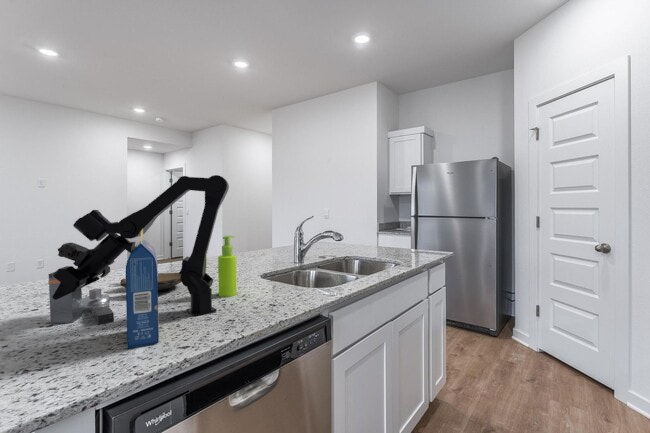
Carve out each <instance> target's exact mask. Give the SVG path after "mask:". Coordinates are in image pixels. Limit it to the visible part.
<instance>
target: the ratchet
mask: <svg viewBox="0 0 650 433" xmlns="http://www.w3.org/2000/svg"><path fill="white" fill-rule="evenodd" d="M88 292H89V296H86V297H82V312H87V313H88V312H90V313H91V314H92V315H93V319H94V320H95V322H96V324H97V325H98V326H100V325H101V326H102V325H104V324H110V323H114V321H115V317H114V316H115V312H114V311H113V310H112V309H111V305H110V300H111V298H110V295H109V294H102V288H93V289H89V291H88Z"/></svg>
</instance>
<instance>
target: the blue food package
mask: <svg viewBox="0 0 650 433" xmlns="http://www.w3.org/2000/svg"><path fill="white" fill-rule="evenodd" d="M158 269H159V267H158V257H157V253H156V250H155V249H154V248H153V246H151V244H150V243H149V242H148V241H146V239H144V234H143V228H142V230H141V236H140V241H139V242H138V243H137V244H135V248H134V249H133V250H132V251H131V253H129V255H128V258H127V261H126V265H125V278H126V288H125V296H126V298H125V299H126V301H125V302H126V304H125V305H126V309H125V310H126V333H127V334H126V339H127V340H126V341H127V342H126V343H127V346H126V347H127V349H131V348H138V347H144V346H150V345H154V344H158V343H159V342H160V327H159V326H160V324H159V323H160V322H159V320H160V319H159V290H158V273H159V270H158Z"/></svg>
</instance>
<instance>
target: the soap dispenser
mask: <svg viewBox="0 0 650 433" xmlns="http://www.w3.org/2000/svg"><path fill="white" fill-rule="evenodd" d="M234 238H235V236H233V235H224V236H222V240H223V241H224V244H223V245H222V246H221V255H219V256H218V258H217V260H218V261H217V262H218V264H217V266H218V267H217V268H218V270H217V271H218V297H221V298H230V297H235V296H236V295H237V287H238V286H237V281H238V280H237V255H234V254H233V246H232V245H231V243H230V242H231V239H234Z"/></svg>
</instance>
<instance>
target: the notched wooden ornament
mask: <svg viewBox="0 0 650 433" xmlns="http://www.w3.org/2000/svg"><path fill="white" fill-rule="evenodd" d="M180 277H181V274H179V272H163V273H160V272H158V291H163V290H168V289H171V288H173V287H175V286H177V285H179V284H181V283H182V282H181V280H180ZM119 284H120V286H121V287H122V288H123V287H124V289H126V277H125V278H122V279H121V280H120V282H119Z"/></svg>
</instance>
